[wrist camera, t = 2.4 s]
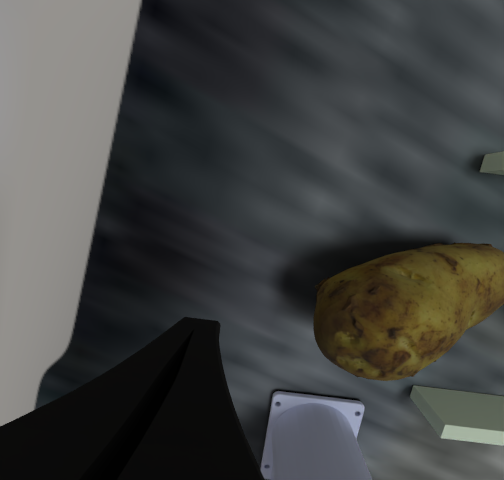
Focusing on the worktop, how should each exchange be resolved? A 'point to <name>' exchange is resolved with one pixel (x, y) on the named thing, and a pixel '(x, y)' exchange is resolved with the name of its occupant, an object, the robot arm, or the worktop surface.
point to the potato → (406, 307)
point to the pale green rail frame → (459, 402)
